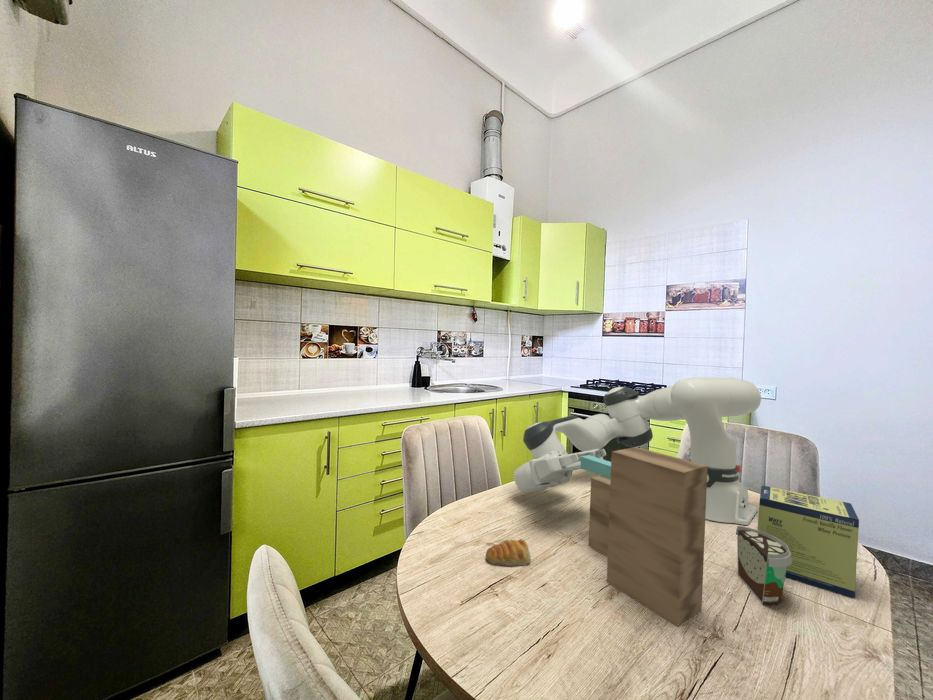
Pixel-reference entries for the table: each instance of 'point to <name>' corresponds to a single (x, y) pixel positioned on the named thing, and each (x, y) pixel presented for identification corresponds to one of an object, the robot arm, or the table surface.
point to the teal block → (596, 466)
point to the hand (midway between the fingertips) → (591, 454)
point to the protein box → (813, 537)
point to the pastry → (509, 553)
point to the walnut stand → (652, 529)
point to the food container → (762, 564)
